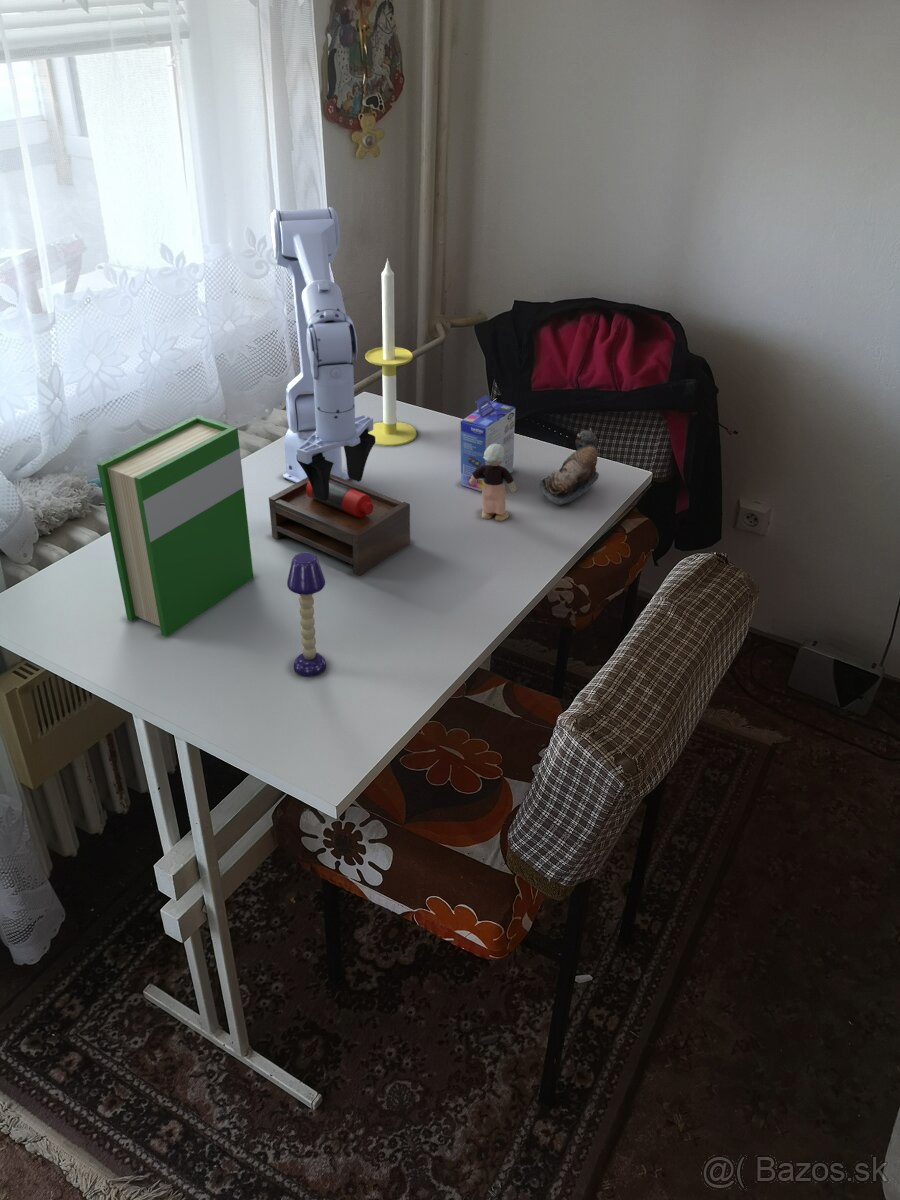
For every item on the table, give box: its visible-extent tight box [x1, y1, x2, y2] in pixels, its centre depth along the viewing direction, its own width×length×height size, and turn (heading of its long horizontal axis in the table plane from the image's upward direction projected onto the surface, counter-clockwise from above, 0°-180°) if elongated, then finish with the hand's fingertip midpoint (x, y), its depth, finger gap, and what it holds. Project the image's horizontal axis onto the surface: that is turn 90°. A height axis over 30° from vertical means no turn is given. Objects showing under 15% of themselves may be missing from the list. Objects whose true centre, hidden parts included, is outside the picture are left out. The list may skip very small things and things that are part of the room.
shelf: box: [268, 474, 411, 577], centre depth 159 cm, size 18×12×7 cm, turn 53°
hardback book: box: [96, 414, 254, 638], centre depth 140 cm, size 18×7×24 cm, turn 148°
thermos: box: [306, 480, 373, 518], centre depth 156 cm, size 11×4×4 cm, turn 53°
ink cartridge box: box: [460, 394, 516, 493], centre depth 174 cm, size 10×6×14 cm, turn 147°
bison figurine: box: [539, 427, 600, 506], centre depth 171 cm, size 12×7×10 cm, turn 142°
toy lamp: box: [286, 551, 327, 678], centre depth 130 cm, size 5×5×17 cm
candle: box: [364, 257, 417, 447], centre depth 183 cm, size 10×10×32 cm
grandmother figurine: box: [469, 443, 517, 522], centre depth 164 cm, size 8×4×13 cm, turn 84°
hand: (338, 488), depth 155 cm, fingers open, 7 cm apart
